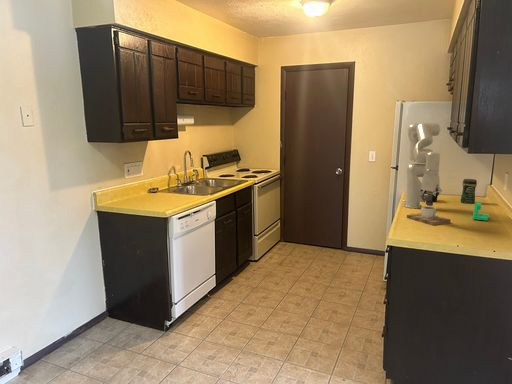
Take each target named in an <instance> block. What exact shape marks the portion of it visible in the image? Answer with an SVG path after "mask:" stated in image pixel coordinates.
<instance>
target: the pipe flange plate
mask: <svg viewBox="0 0 512 384" xmlns="http://www.w3.org/2000/svg"><path fill="white" fill-rule="evenodd" d="M406 218H407V219H409V220H413V221H415V222H420V223H423V224H426V225H430V226H436V225H445V224H451V220H452V219H449V218H446V217H442V216H439V215H437V207H435V206H434V207H433V206H427V205H425V206H422V207H421V208H420V213H409V214H406Z"/></svg>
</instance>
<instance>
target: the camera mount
mask: <svg viewBox="0 0 512 384" xmlns="http://www.w3.org/2000/svg"><path fill="white" fill-rule="evenodd" d="M473 207H474V208H473V213H472V219H473V220H479V221H488V220H489V215H490V214H488V213H482V212H479V211H481V209H482V203H481V202H475V203H474V206H473Z"/></svg>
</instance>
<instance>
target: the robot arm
mask: <svg viewBox="0 0 512 384" xmlns="http://www.w3.org/2000/svg"><path fill="white" fill-rule="evenodd" d="M440 133H441V127H440V124H439V123H437V122H423V123H412V124H409V126H408V127H407V136H408V139H409V160H410V162H415V163H409V164H408V165H407V166H406V180H407V181H406V196H405V198H404V199H403V200H402V202H403V203H404V204H402V205H403V207H405V208H409V209H421V207H423V206H422V204H421V201H420V195H421V192H422V194H423V198H422V200H423V199H424V193H427V191H430V192H433V195H434V196H433V200H432V202H433V204H434V203H437V202H438V197H439V195H440V194H441V193H442V192H443V190H442V188H441V187H440V184H441V181H440V180H441V179H440V175H439V172H440V162H441V161H440V160H441V158H440V157H441V154H440V153H439V152H437V151H433V149H431V148H427V147H429V146H431V145H433V142H434V138H433V137H437V136H439V135H440ZM419 178H422V181H421V180H420V179H419ZM421 183H422V185H421Z"/></svg>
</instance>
